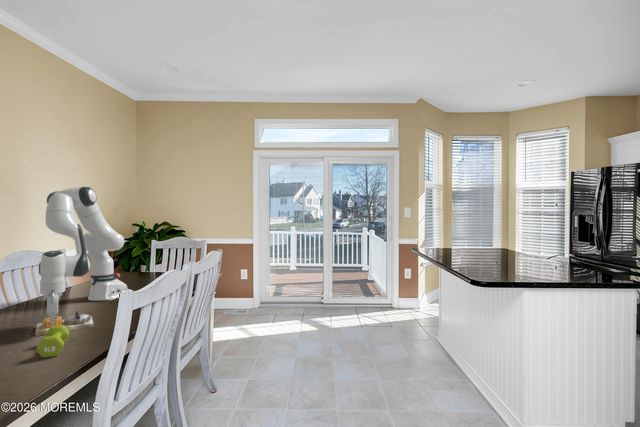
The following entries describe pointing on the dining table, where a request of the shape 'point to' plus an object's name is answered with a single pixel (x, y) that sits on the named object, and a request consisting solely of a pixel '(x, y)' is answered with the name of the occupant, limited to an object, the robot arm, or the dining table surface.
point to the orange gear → (47, 323)
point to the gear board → (70, 323)
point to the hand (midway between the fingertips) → (52, 319)
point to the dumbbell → (53, 341)
